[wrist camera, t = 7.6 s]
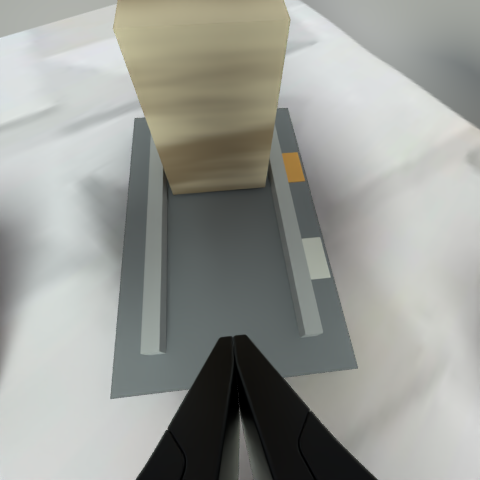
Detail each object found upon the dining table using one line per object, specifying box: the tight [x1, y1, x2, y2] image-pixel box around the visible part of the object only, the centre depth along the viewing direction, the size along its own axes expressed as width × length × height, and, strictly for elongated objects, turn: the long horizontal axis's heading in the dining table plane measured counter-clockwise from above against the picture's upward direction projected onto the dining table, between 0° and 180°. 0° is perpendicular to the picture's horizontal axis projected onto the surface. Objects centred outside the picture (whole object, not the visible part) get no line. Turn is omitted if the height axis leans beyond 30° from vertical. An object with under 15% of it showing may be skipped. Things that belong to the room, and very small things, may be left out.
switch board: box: [110, 108, 358, 399], centre depth 20 cm, size 22×14×3 cm, turn 6°
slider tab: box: [113, 0, 290, 195], centre depth 16 cm, size 4×7×11 cm, turn 96°
